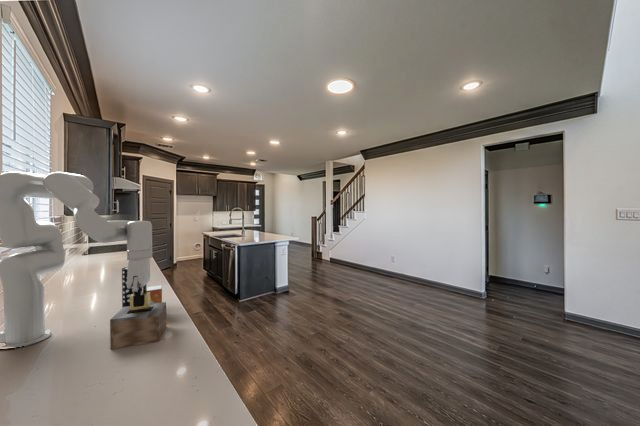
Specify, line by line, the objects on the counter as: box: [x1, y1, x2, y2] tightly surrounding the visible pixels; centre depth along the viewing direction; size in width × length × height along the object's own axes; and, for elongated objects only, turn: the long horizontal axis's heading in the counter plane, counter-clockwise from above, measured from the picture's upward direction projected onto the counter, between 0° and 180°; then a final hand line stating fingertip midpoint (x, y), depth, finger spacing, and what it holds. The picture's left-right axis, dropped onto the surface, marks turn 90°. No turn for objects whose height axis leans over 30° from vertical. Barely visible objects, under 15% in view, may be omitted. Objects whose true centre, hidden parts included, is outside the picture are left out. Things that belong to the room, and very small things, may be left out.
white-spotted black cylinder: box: [121, 266, 133, 309], centre depth 117 cm, size 8×8×20 cm
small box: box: [146, 285, 163, 304], centre depth 109 cm, size 8×6×13 cm
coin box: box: [109, 301, 167, 350], centre depth 92 cm, size 14×12×10 cm
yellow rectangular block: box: [130, 292, 151, 310], centre depth 92 cm, size 6×3×5 cm, turn 111°
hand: (140, 304), depth 92 cm, fingers closed on yellow rectangular block, 2 cm apart
